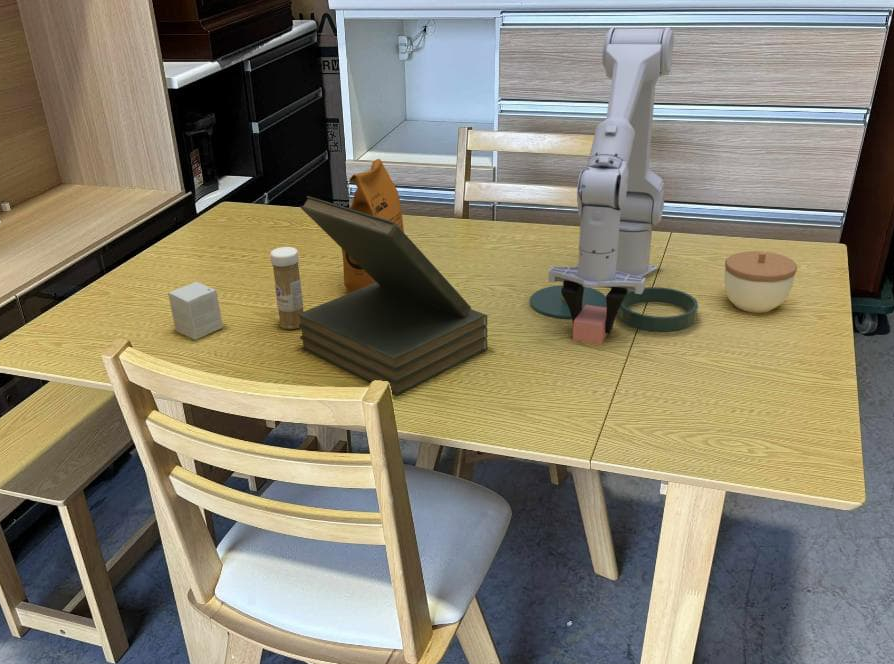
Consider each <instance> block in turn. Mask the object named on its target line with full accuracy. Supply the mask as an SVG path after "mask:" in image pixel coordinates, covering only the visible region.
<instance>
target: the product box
mask: <svg viewBox="0 0 894 664" xmlns="http://www.w3.org/2000/svg"><path fill="white" fill-rule="evenodd" d="M167 295H168V300H169V301H168V302H169V305H170V311H171V314H172V315H171V316H172V320H173V325H174V329H175V331H176V332H177V333H179V334H181V335H183V336H186V337H188V338H190V339H191V340H194V341H197V340H199V339H201V338H204V337H205V336H208V335H210V334H212V333H214V332H216V331H219V330H221V329H223V328H224V323H223V320H222V313H221V309H220V304H219V298H218V292H217V290H216V289H215V288H213V287H210V286H207V285H205V284H204V283H200V282H198V281H195V282H193V283H190V284H188V285H185V286H183V287H179V288H176V289H175V290H172V291H170V292H169V291H168V292H167Z"/></svg>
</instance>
